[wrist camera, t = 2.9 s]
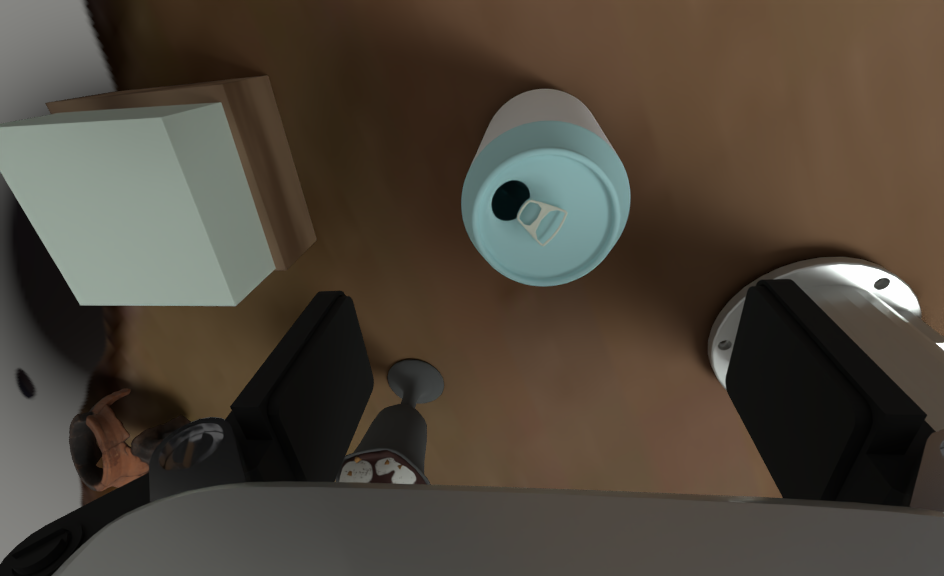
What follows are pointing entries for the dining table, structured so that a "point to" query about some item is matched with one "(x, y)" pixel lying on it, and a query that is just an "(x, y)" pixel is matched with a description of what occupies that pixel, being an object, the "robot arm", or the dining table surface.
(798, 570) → the robot arm
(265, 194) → the walnut base block
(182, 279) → the sage top block
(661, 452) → the dining table surface
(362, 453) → the sundae
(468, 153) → the dining table surface
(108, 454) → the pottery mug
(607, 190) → the can
